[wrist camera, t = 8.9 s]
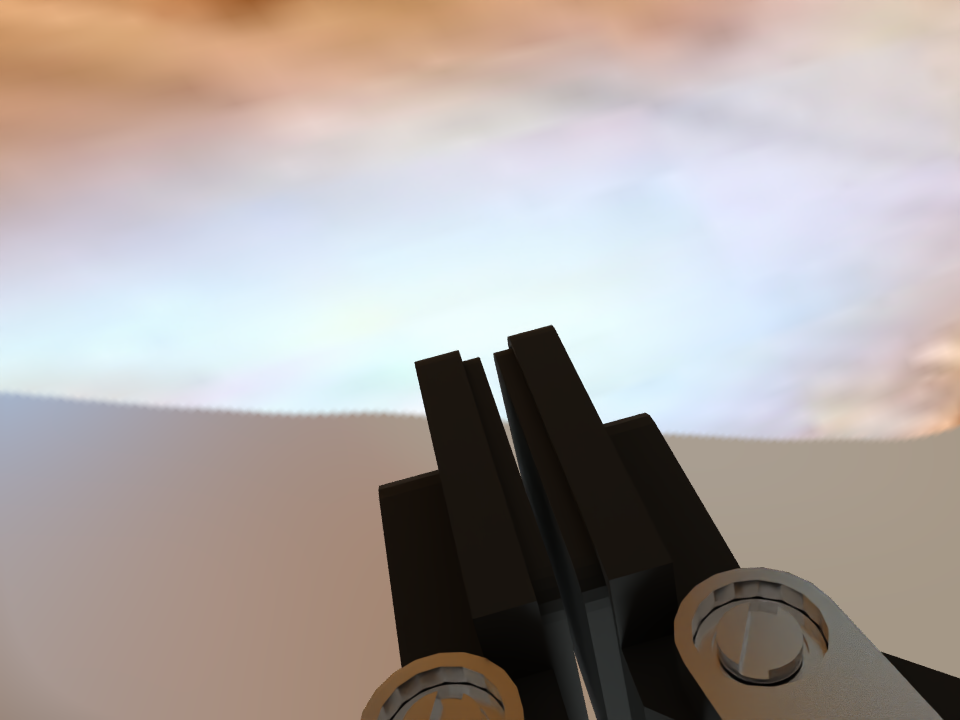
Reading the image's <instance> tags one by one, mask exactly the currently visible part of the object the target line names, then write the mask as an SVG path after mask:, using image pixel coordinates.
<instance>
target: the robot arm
mask: <svg viewBox="0 0 960 720" xmlns="http://www.w3.org/2000/svg"><path fill="white" fill-rule="evenodd" d="M507 340H508V346H509V349H507V350H503V351H500V352H496V353H493V355H494V361H495V366H496V370H497V374H498V379H499V383H500V387H501V392H502V396H503V400H504V405H505V409H506V413H507V418H508V422H509V426H510V431H511V435H512V439H513V443H514V448H515V452H516V457H517V461H518V465H519V469H520V473H519V470H518V467H517V464H516V461H515V458H514V456H513V453H512V450H511V447H510V444H509V441H508V438H507V435H506V432H505V429H504V426H503V424H502V421H501V418H500V415H499V412H498V409H497V406H496V403H495V400H494V398H493V395H492V392H491V389H490V386H489V383H488V380H487V377H486V374H485V371H484V369H483V366H482V363H481V360H480V358H479V357H478V358H474V359H470V360H467V361H463V362H462V359H461V356H460V353H459V350H457V351H453V352H449V353H446V354H442V355H438V356H435V357H431V358H427V359H423V360H420V361H416V362H415V368H416V372H417V377H418V381H419V385H420V390H421V394H422V399H423V403H424V408H425V412H426V416H427V421H428V425H429V430H430V434H431V438H432V443H433V447H434V452H435V456H436V460H437V465H438V469H439V470H436V471H432V472H429V473H425V474H421V475H417V476H414V477H410V478H406V479H403V480H399V481H395V482H392V483H388V484H385V485H381V486H379V501H380V508H381V516H382V523H383V530H384V538H385V546H386V554H387V561H388V569H389V576H390V584H391V591H392V598H393V606H394V614H395V620H396V629H397V636H398V643H399V651H400V658H401V666H402V668H401V669H399V670H397V671H396V672H394V673H393V674H392V675H391V676H390V677H389V678H388V679H387V680H386V681H385V682H384V683H383V684H381V686H380V687H378V688H377V689H376V691H375V692H374V694H373V695H372V697H371V699H370V700H369V702H368V704H367V705H366V707H365V709H364V710H363V712H362V716H361V720H589V719H588V714H587V710H586V705H585V700H584V696H583V691H582V687H581V682H580V678H579V673H578V669H577V664H576V659H575V656H576V658H577V662H578V665H579V668H580V671H581V674H582V676H583V680H584V682H585V685H586V688H587V691H588V694H589V697H590V700H591V703H592V706H593V709H594V712H595V715H596V718H597V720H960V678H957V677H954V676H951V675H948V674H945V673H942V672H939V671H936V670H933V669H930V668H927V667H925V666H922V665H919V664H916V663H912V662H910V661H907V660H904V659H901V658H898V657H895V656H892V655H889V654H886V653H883V652H880V651H879V650H878V649H877V648H876V647H875V645H874V644H873V643H872V642H871V641H870V640H869V639H868V638H867V637H866V636H865V635H864V634H863V632H861V630H860V629H859V628H858V627H857V626H856V625H855V624H854V623H853V622H852V621H851V619H850V618H848V616H847V615H846V614H845V613H844V612H843V611H842V610H841V609H840V608H839V607H838V605H837V604H836V603H835V602H834V601H833V600H832V599H831V598H830V597H829V596H827V595H826V594H825V593H824V592H822V591H821V590H820V589H819V588H817V587H816V586H815V585H814V584H813V583H811V582H809V581H806V580H804V579H802V578H800V577H798V576H795V575H793V574H791V573H789V572H784V571H779V570H773V569H769V568H764V567H760V568H740V566H739V565H738V563H737V561H736V559H735V558H734V556H733V554H732V553H731V551H730V549H729V548H728V546H727V544H726V542H725V541H724V539H723V537H722V536H721V534H720V532H719V531H718V529H717V527H716V526H715V524H714V522H713V520H712V519H711V517H710V515H709V514H708V512H707V510H706V509H705V507H704V505H703V503H702V502H701V500H700V498H699V497H698V495H697V493H696V492H695V490H694V488H693V487H692V485H691V483H690V482H689V480H688V478H687V476H686V475H685V473H684V471H683V469H682V468H681V466H680V464H679V463H678V461H677V459H676V458H675V456H674V455H673V452H672V451H671V449H670V447H669V446H668V444H667V442H666V441H665V439H664V437H663V435H662V434H661V432H660V430H659V429H658V427H657V425H656V424H655V422H654V421H653V419H652V418H651V417H650V415H648V414H647V413H642V414H638V415H635V416H631V417H628V418H624V419H620V420H617V421H613V422H609V423H606V424H603V423H602V421H601V419H600V417H599V415H598V413H597V411H596V409H595V407H594V405H593V403H592V401H591V399H590V397H589V395H588V393H587V391H586V390H585V388H584V386H583V384H582V382H581V380H580V378H579V376H578V374H577V372H576V370H575V368H574V366H573V364H572V362H571V360H570V358H569V356H568V354H567V352H566V350H565V348H564V346H563V344H562V342H561V340H560V338H559V336H558V334H557V332H556V330H555V328H554V327H553V326H552V325H549V326H546V327H542V328H538V329H535V330H531V331H527V332H523V333H520V334H516V335H512V336H509V337H508V339H507ZM520 474H521V476H520ZM521 478H522V479H521ZM574 653H575V655H574Z"/></svg>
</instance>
